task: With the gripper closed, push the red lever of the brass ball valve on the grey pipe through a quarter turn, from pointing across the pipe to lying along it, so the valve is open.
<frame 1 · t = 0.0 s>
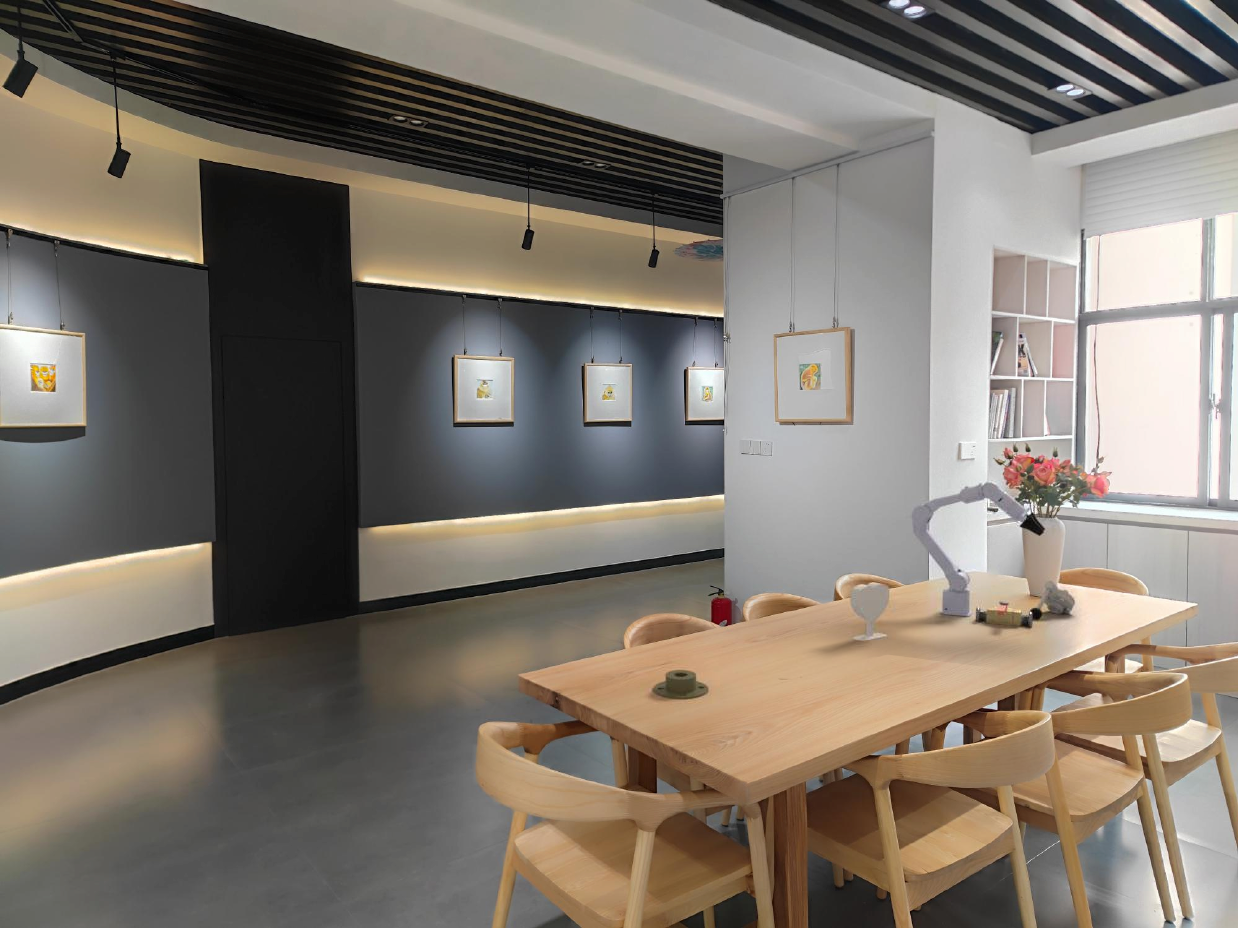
hand: (1042, 532, 289), 32 cm above the table, fingers open, 7 cm apart
valve pipe: (1003, 622, 290), on the table
lever: (1002, 608, 285), point 6 cm above the table, hinge at 0.0°
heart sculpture: (869, 637, 275), on the table
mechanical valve: (1050, 616, 300), on the table
flange: (681, 691, 223), on the table
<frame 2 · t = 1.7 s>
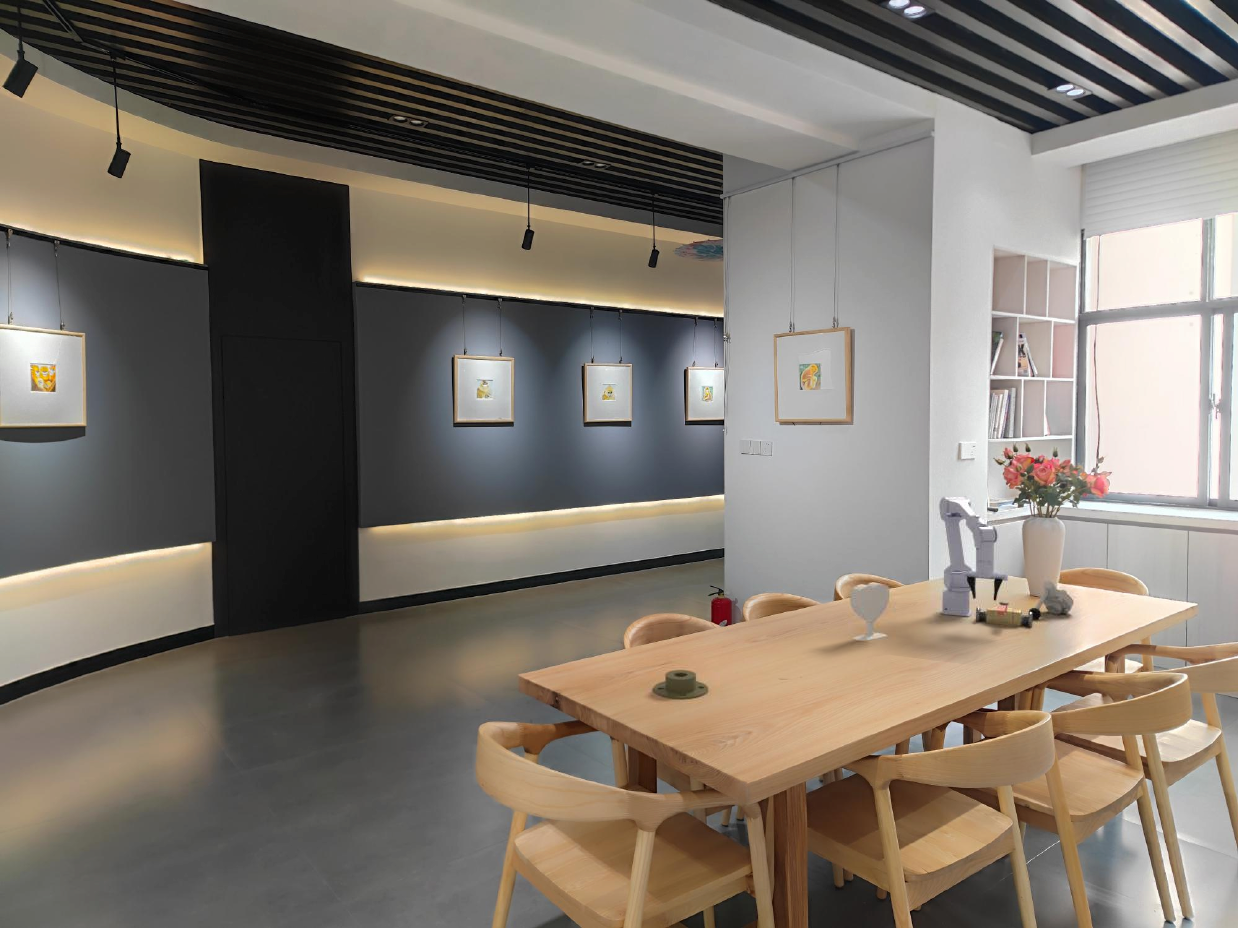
hand: (984, 599, 284), 10 cm above the table, fingers open, 6 cm apart
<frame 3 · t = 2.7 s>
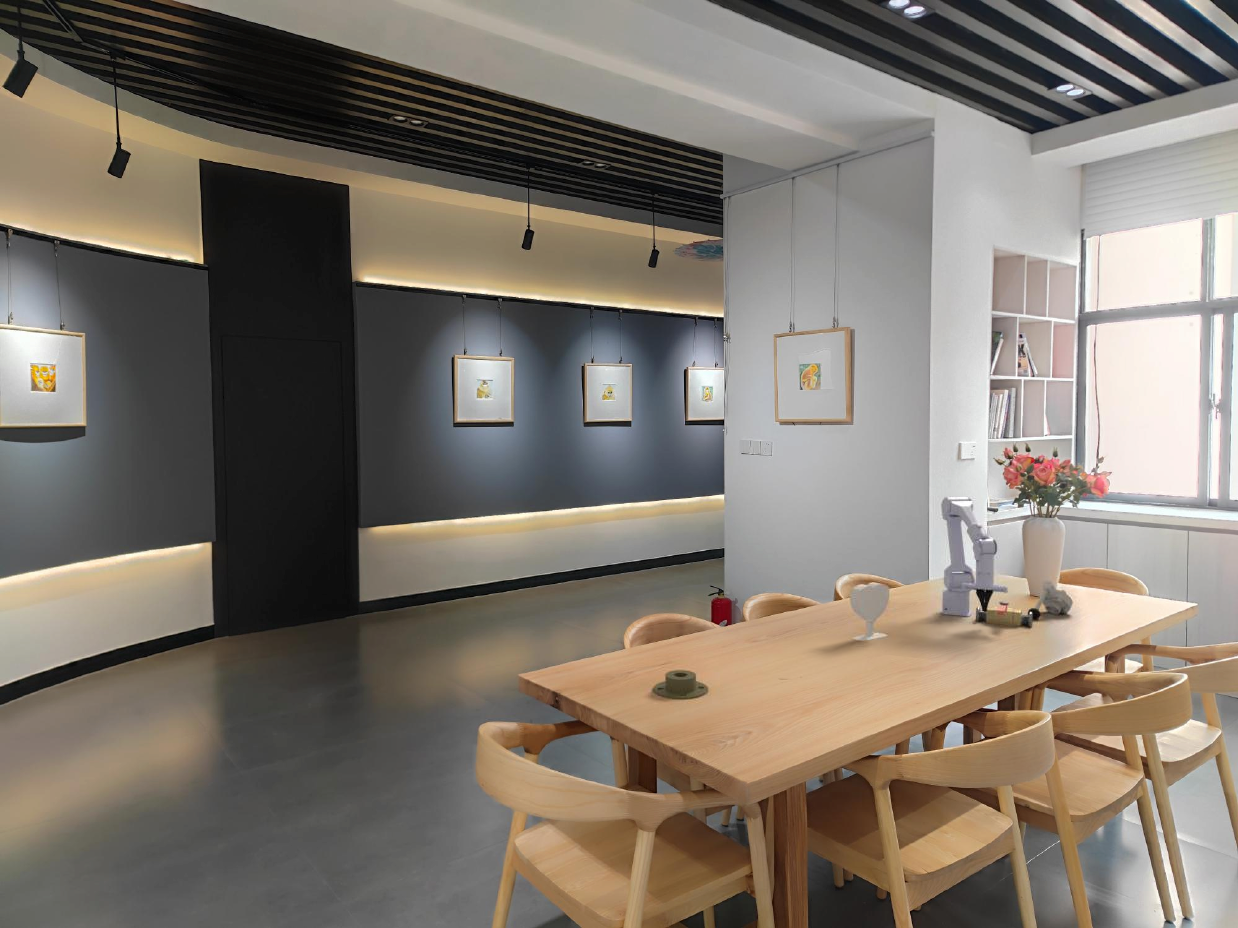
hand: (984, 611, 285), 6 cm above the table, fingers closed
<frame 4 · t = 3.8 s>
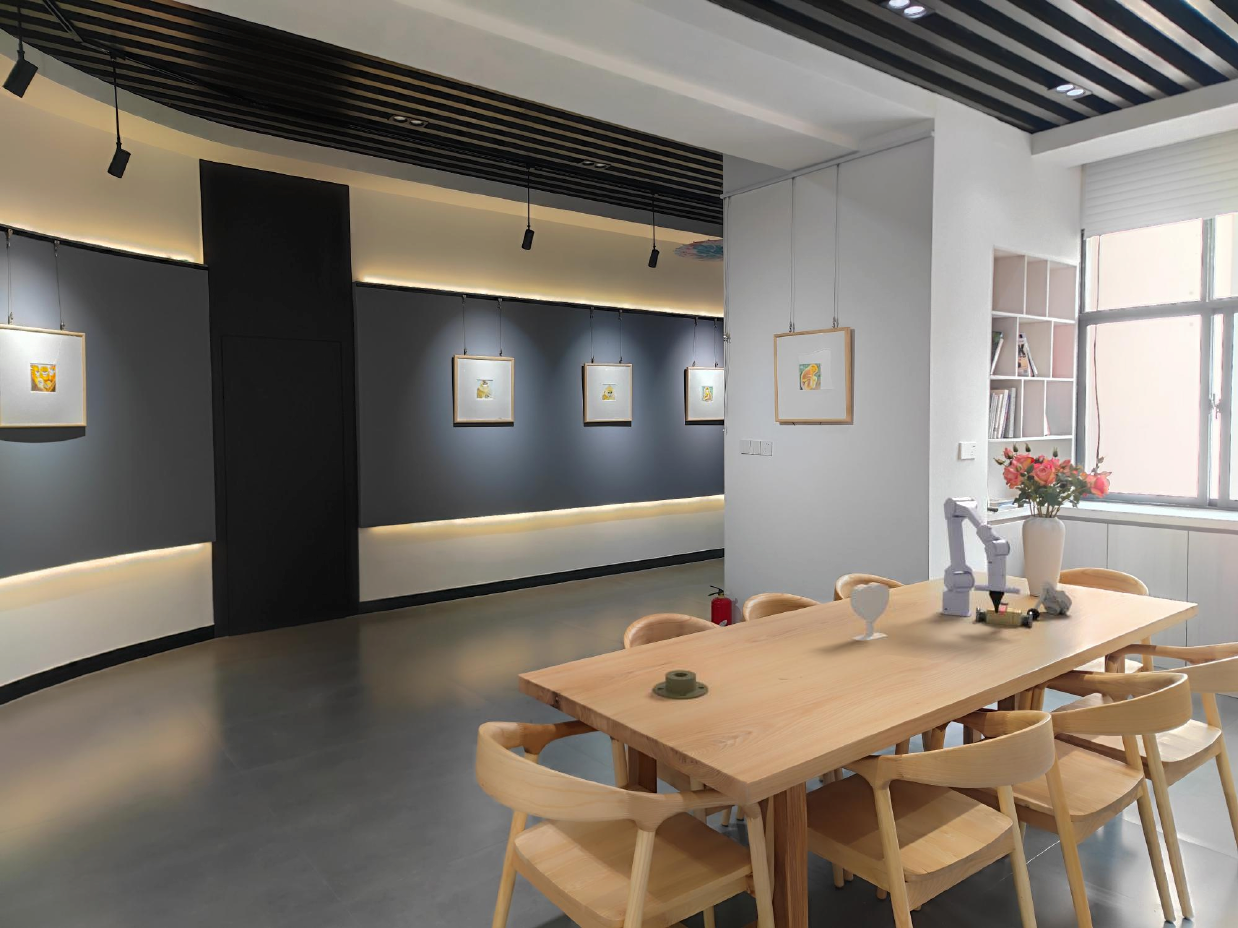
hand: (996, 612, 283), 5 cm above the table, fingers closed, pressing on lever
lever: (1002, 608, 285), point 6 cm above the table, hinge at 0.6°, touching gripper
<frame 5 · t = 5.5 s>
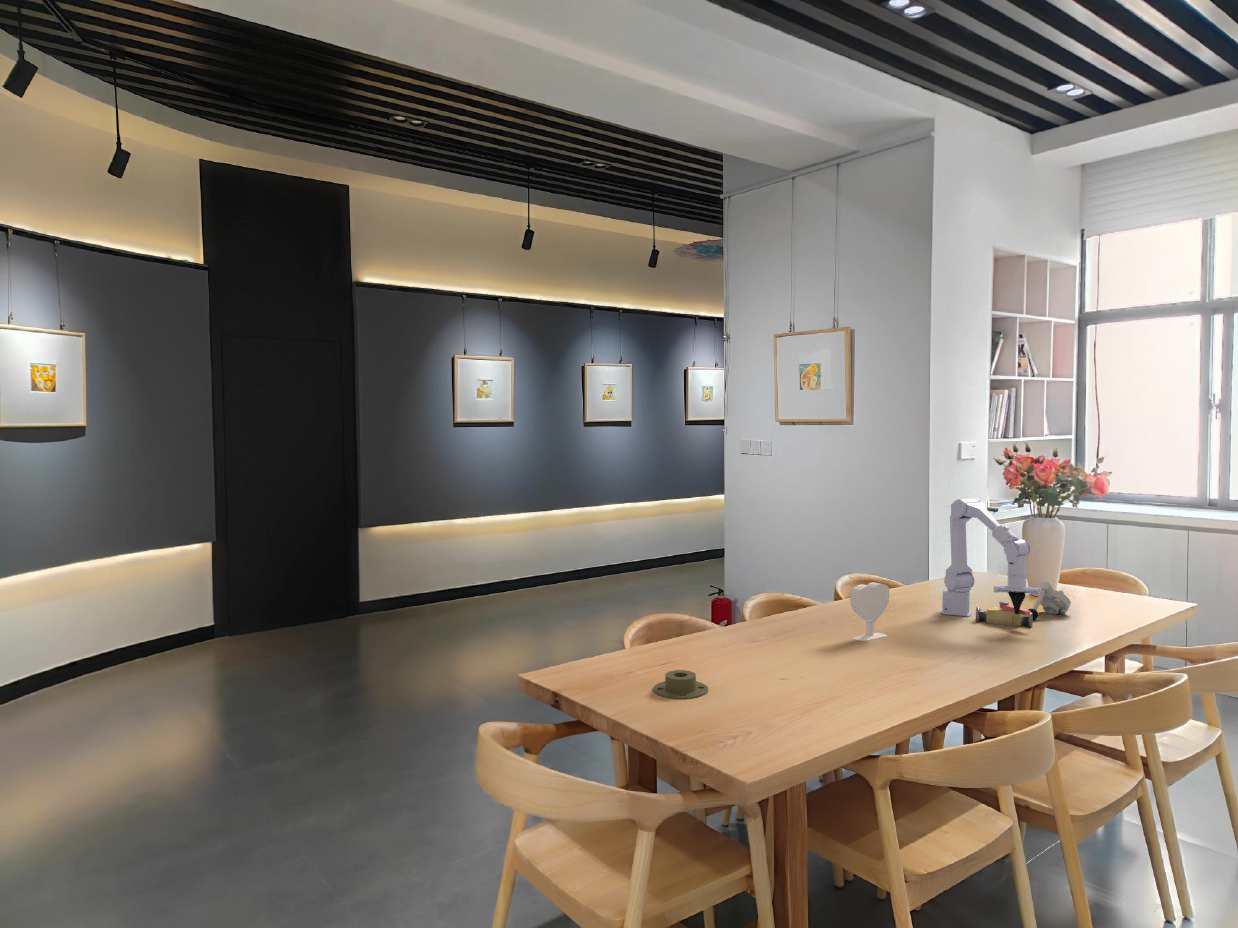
hand: (1016, 613, 281), 5 cm above the table, fingers closed
lever: (1014, 608, 285), point 6 cm above the table, hinge at 45.7°, touching gripper
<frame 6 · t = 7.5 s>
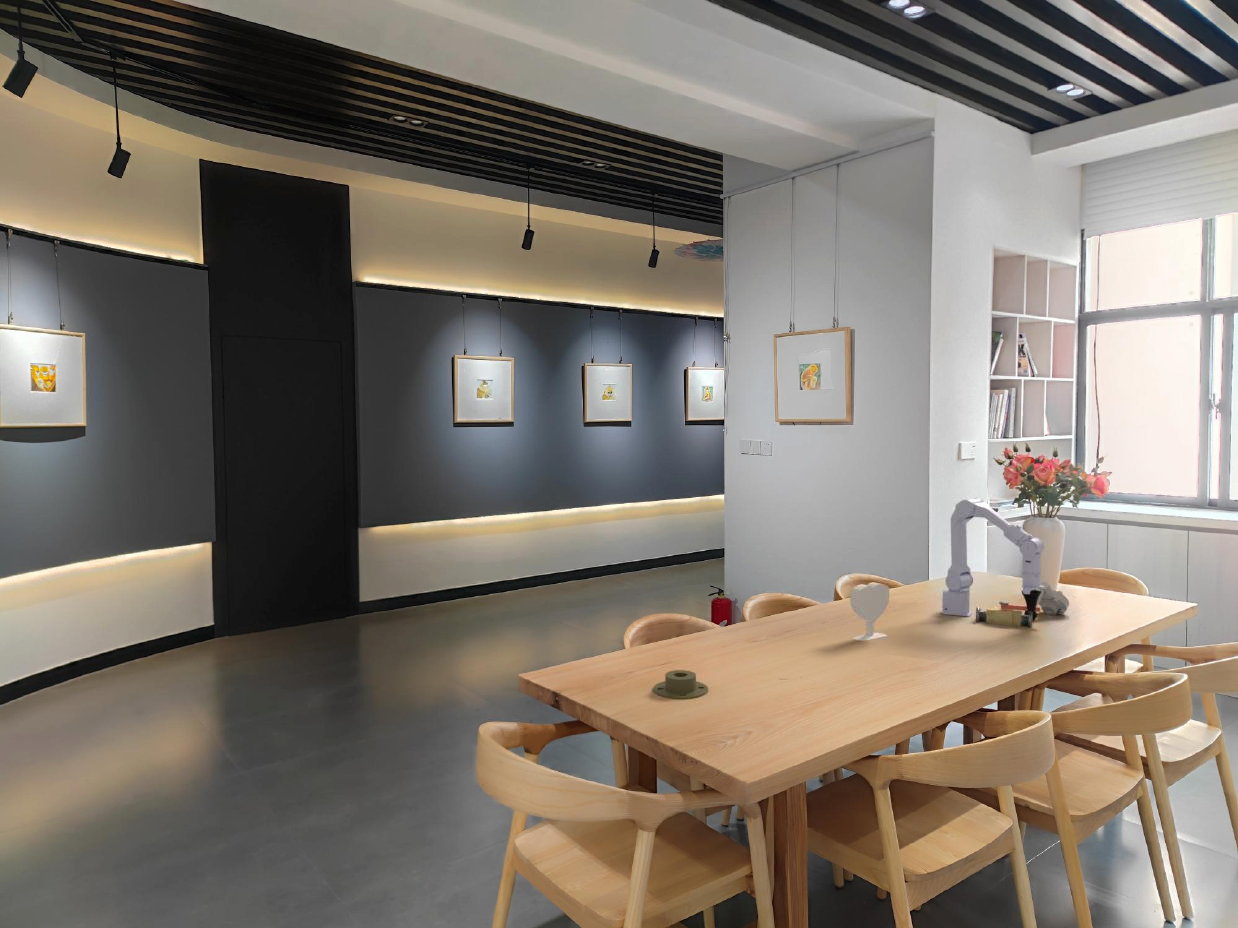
hand: (1031, 611, 284), 5 cm above the table, fingers closed
lever: (1019, 606, 287), point 6 cm above the table, hinge at 93.3°, touching gripper
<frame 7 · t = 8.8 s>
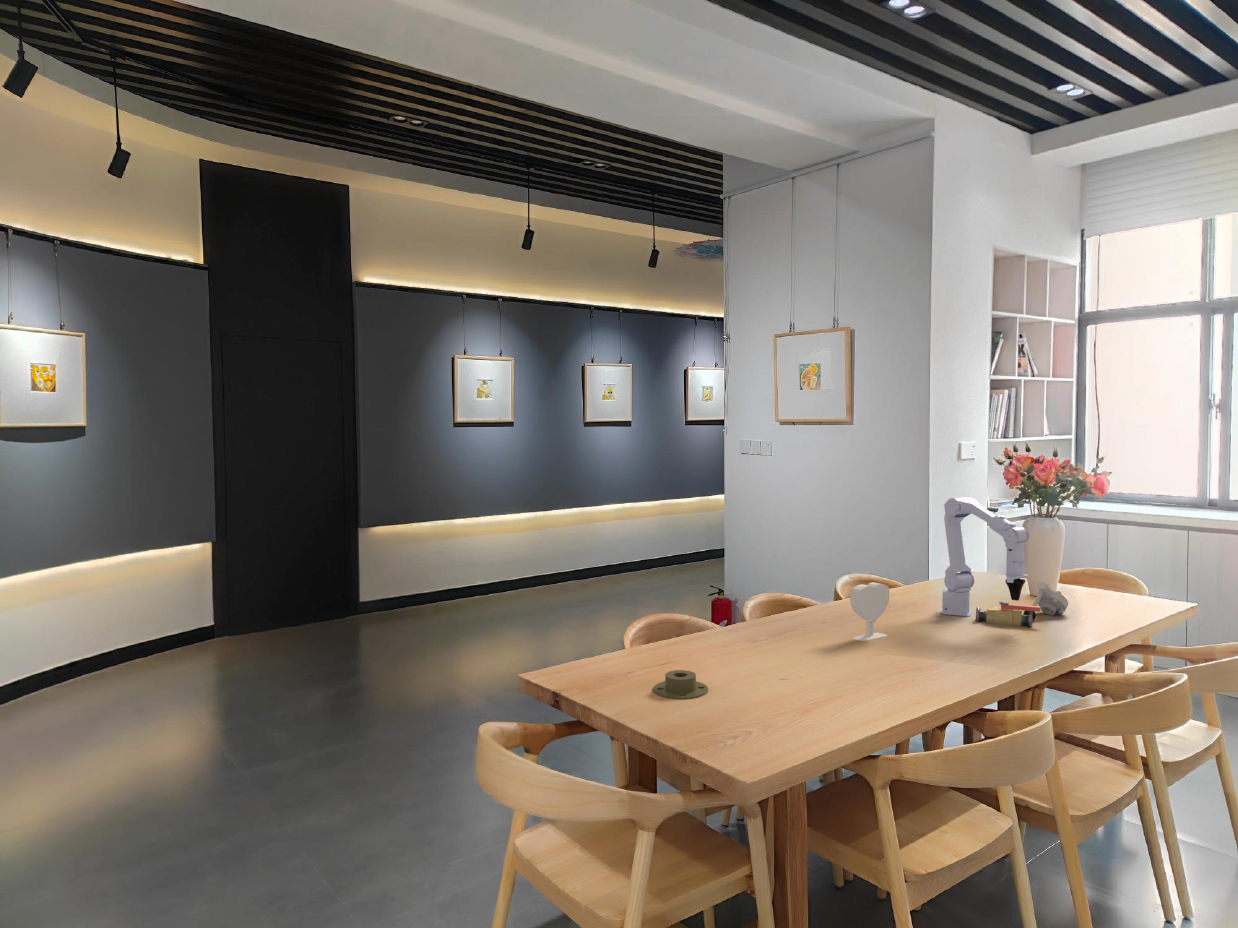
hand: (1015, 599, 282), 10 cm above the table, fingers closed
lever: (1019, 606, 287), point 6 cm above the table, hinge at 93.5°
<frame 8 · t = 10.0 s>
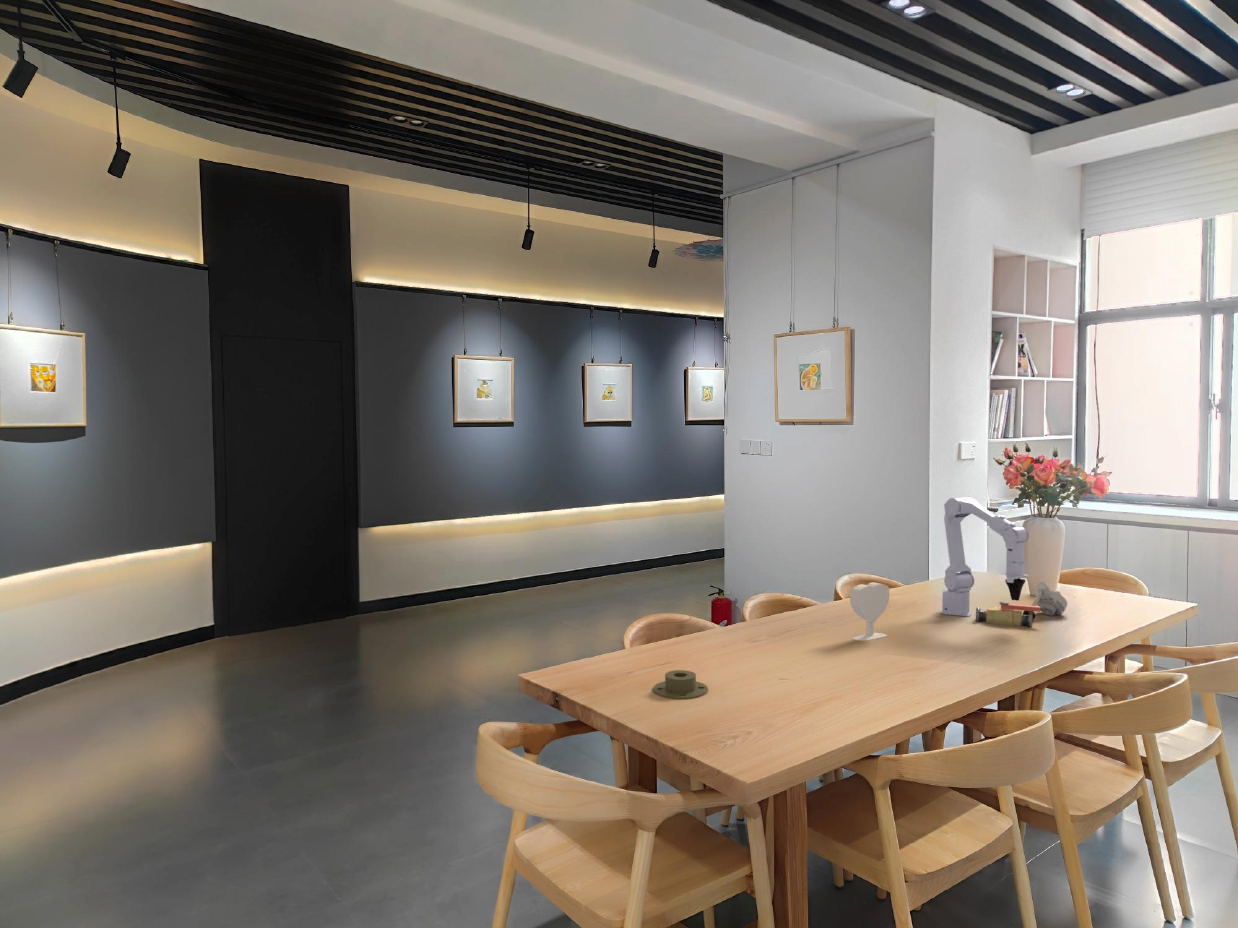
hand: (1015, 599, 282), 10 cm above the table, fingers closed
at the end: lever at +94° (first picture: +0°) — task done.
